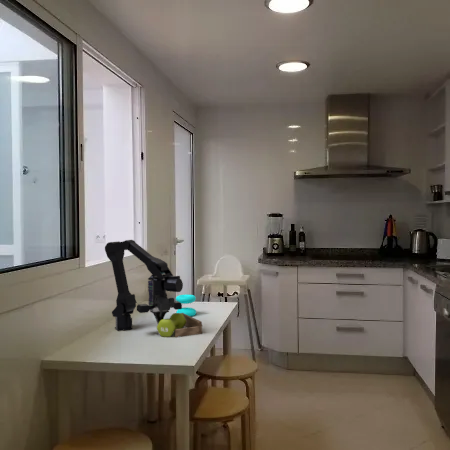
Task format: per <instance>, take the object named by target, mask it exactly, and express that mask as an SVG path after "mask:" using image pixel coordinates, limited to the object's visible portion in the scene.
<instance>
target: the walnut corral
mask: <svg viewBox="0 0 450 450" xmlns="http://www.w3.org/2000/svg"><path fill="white" fill-rule="evenodd" d="M182 314H183V316H184V317H185V319H186V324H185V326H184V328H182V329H175V331H174V337H175V338H179V337H178V336H181V337H187V336H194V335H200V334H201V335H202V334H203V322H202V321H201V320H198V319H196V318H195V317H193V316H191V317H190V316H188V315H186V314H184V313H182Z"/></svg>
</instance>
